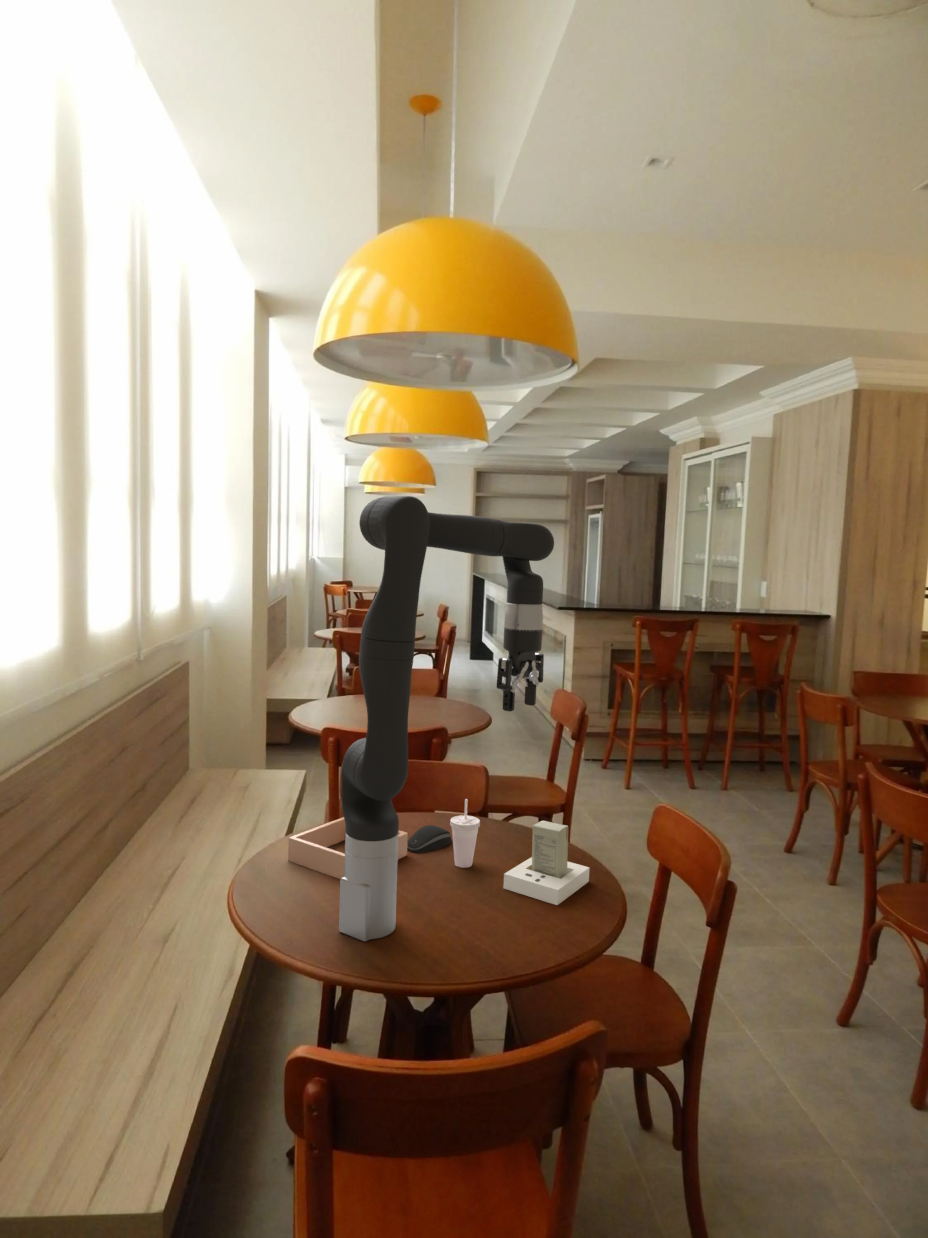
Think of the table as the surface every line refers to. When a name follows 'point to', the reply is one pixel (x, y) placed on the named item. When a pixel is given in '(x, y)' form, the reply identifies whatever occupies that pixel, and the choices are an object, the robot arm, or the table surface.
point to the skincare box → (550, 849)
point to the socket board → (545, 882)
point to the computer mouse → (428, 839)
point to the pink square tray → (318, 857)
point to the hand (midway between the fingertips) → (519, 707)
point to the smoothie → (464, 838)
